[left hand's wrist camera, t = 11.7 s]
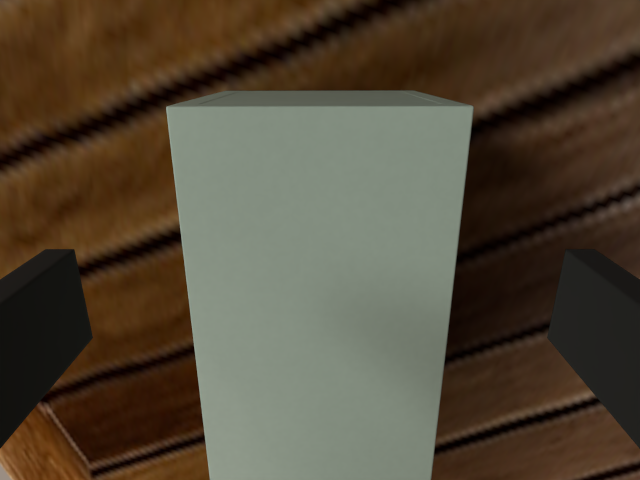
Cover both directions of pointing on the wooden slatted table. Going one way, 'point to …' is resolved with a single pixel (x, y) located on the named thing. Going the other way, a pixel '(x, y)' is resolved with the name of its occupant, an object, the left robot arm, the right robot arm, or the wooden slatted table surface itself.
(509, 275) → the wooden slatted table surface
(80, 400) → the wooden slatted table surface
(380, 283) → the cabinet
